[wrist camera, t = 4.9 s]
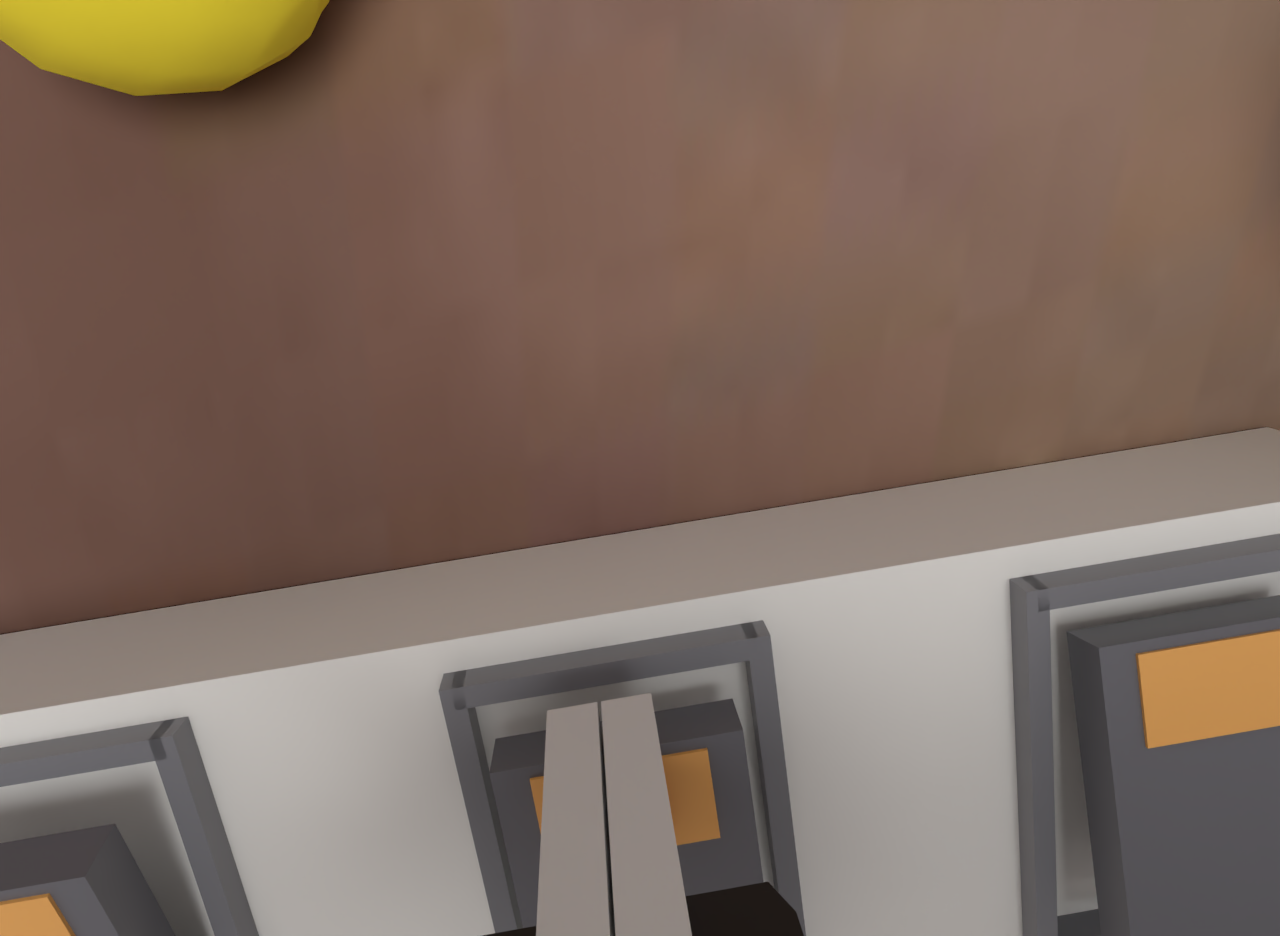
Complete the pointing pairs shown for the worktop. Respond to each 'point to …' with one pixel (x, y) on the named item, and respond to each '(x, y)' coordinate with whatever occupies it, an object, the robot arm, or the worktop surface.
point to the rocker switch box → (675, 676)
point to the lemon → (157, 40)
